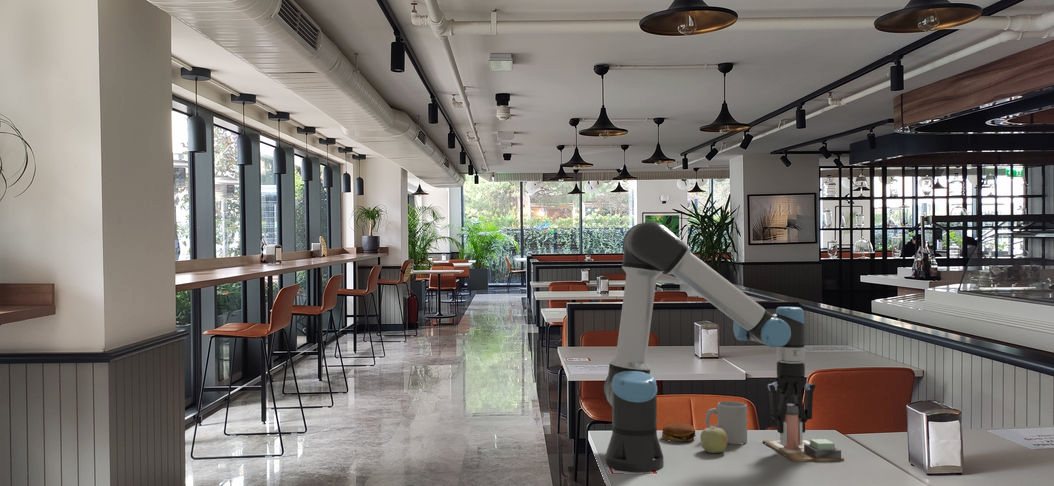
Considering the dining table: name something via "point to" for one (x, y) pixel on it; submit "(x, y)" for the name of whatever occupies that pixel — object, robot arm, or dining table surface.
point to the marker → (792, 426)
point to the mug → (731, 420)
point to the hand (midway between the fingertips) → (791, 444)
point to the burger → (678, 432)
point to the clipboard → (805, 452)
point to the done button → (822, 444)
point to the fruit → (714, 439)
